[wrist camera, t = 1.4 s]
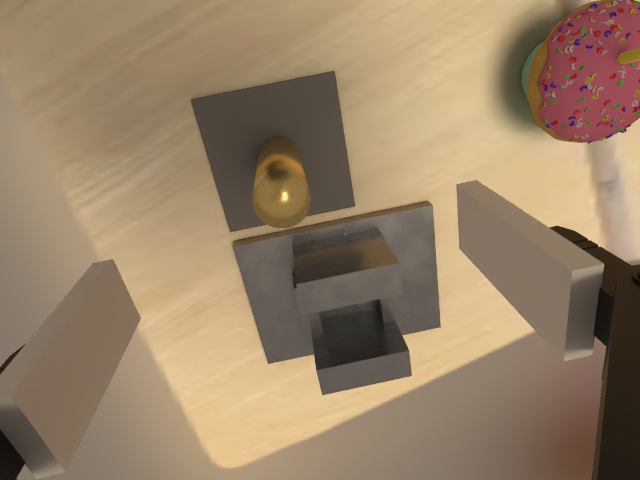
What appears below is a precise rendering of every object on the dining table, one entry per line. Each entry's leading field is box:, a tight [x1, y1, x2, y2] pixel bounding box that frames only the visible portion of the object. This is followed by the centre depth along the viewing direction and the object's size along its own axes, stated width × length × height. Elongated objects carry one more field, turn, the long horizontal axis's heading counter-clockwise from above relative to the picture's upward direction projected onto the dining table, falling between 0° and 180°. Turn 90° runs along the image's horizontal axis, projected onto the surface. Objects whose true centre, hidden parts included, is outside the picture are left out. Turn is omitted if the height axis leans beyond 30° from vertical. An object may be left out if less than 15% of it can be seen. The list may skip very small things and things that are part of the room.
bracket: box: [233, 201, 441, 395], centre depth 33 cm, size 12×16×7 cm
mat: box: [191, 71, 355, 232], centre depth 30 cm, size 10×10×1 cm
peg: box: [252, 136, 311, 228], centre depth 26 cm, size 3×3×10 cm
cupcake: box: [521, 0, 640, 144], centre depth 25 cm, size 9×8×12 cm
